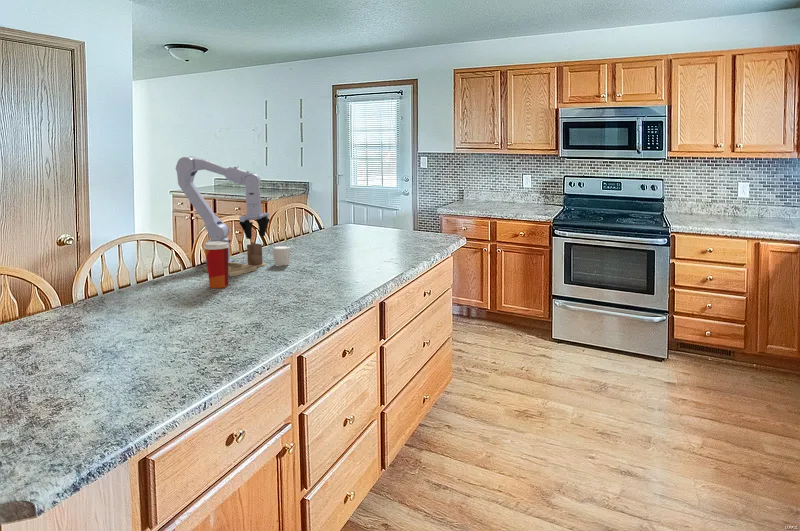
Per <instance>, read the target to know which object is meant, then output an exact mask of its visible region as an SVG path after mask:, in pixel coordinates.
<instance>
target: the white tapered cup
mask: <svg viewBox="0 0 800 531" xmlns="http://www.w3.org/2000/svg"><path fill="white" fill-rule="evenodd" d="M272 253H273V260H274V266H276V265H278V266H277V267H283V266H282V265H285V266H289V265H290V253H291V247H290V246H286V245H280V246H279V245H277V246H273V247H272ZM288 264H289V265H288Z"/></svg>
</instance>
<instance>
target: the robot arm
mask: <svg viewBox="0 0 800 531" xmlns="http://www.w3.org/2000/svg"><path fill="white" fill-rule="evenodd" d="M203 170H205V171H207V172H212V173H215V174H217V175H221V176H224V177H225V179H226V180H227V181H228V182H231V183H235V184H238V185H240V186H244V188H245V204H246V214H245V215H241V216H239V219H238V220H239V225H240V226H241V229H242V230H243V232H244V235H245V237H246V238H245V239H246V240H247V239H248V240H252V237H253V236H252V235H253V234H252V233H253V231H252V230H253V224H254V222H252V221H253V220H256V223H257V225H258V231H259V236H260V237H265V236H266V231H267V227H268V225H269V223H270V213H269V212H262V201H261V200H262V199H261V196H262V195H261V191H260V190H261V188H260V187H261V186H260V184H261V180H262V179H261V177H260V175H258V173H256V172H252V173H250V171H249V170H244V169H241V168H239V166H238V165H237V166H236V165H234V166H233V165H231V166H229V167H225V166H223V165H220V164H217V163H215V162H212V161H210V160H207V159H204V158H199V157H196V156H188V157H187V156H182V157H180V158H179V159H178V160H177V163H176V166H175V171H176V175H177V184H178V186H179V188H180V189H181V191H182V192H183V193H184V195H185V196H186V198H187V199H188V201H189V202H190V204H191V206H192V207H193V208H194V209H195V211H196V212H197V214H198V215H199V217H200V218H201V220H202V221H203V222H204V226H205V230H206V231H207V235H208V238H209V240H207V241H206V242H205V243H208V242H215V241H222V242H227V243H228V245H229V247H228V262H235V259H231V258H230V256H231V255H230V243H229V237H228V235H229V234H230V228H229V227H230V226H228V225H227V223H224V222H223V221H222V220H221V219H220V218H219V217H218V216H217V215H216V214H215V212H214V211H213V209H212V208H211V207H210V205H209V203H208V202H207V201H206V199H205V198H204V196H203V195H202V194H201V193H200V190H199V189H198V188H197V186H196V185H195V183H194V179H195V177H196V174H197V173H198V172H199V171H203ZM204 255H205V257H206V254H204ZM203 262H204V263H207V262H206V260H204V261H203Z"/></svg>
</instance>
